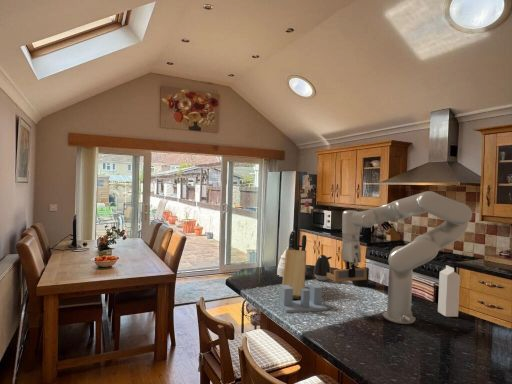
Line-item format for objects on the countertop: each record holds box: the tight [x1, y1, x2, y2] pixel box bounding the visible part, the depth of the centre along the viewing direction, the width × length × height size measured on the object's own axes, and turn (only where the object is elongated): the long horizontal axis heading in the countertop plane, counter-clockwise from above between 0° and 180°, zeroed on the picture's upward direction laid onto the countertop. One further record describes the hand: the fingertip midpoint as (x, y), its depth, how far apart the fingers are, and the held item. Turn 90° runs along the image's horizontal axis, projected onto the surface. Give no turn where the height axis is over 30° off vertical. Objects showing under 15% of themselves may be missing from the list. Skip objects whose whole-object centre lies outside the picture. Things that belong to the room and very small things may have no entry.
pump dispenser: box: [313, 254, 333, 282], centre depth 205 cm, size 10×10×15 cm
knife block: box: [281, 230, 307, 300], centre depth 180 cm, size 11×35×31 cm, turn 170°
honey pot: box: [276, 246, 289, 278], centre depth 213 cm, size 13×13×18 cm
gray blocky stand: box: [278, 283, 329, 314], centre depth 156 cm, size 11×20×9 cm, turn 104°
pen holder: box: [351, 266, 370, 288], centre depth 197 cm, size 9×9×10 cm
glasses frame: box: [327, 267, 367, 283], centre depth 159 cm, size 9×16×5 cm, turn 104°
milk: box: [437, 265, 461, 318], centre depth 154 cm, size 6×6×22 cm
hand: (350, 276), depth 155 cm, fingers closed on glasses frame
